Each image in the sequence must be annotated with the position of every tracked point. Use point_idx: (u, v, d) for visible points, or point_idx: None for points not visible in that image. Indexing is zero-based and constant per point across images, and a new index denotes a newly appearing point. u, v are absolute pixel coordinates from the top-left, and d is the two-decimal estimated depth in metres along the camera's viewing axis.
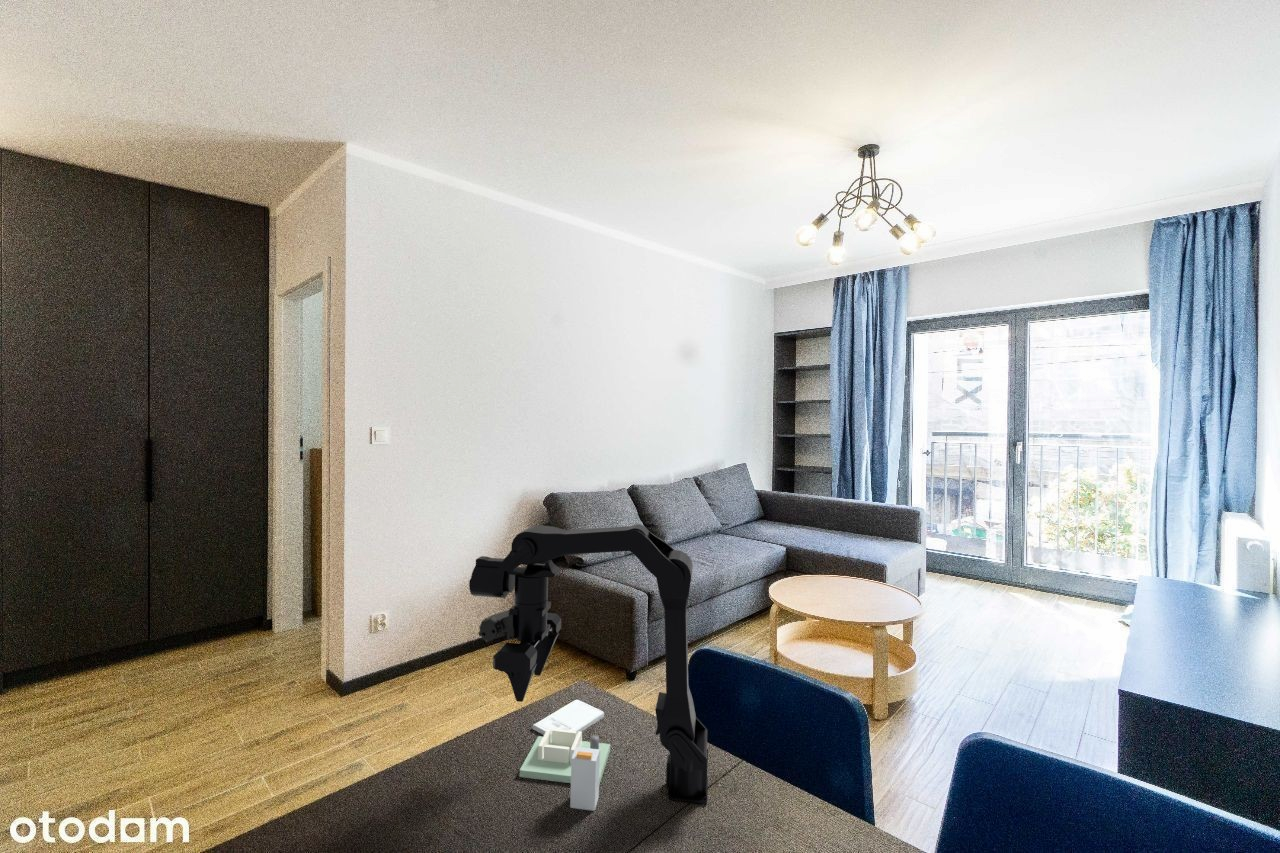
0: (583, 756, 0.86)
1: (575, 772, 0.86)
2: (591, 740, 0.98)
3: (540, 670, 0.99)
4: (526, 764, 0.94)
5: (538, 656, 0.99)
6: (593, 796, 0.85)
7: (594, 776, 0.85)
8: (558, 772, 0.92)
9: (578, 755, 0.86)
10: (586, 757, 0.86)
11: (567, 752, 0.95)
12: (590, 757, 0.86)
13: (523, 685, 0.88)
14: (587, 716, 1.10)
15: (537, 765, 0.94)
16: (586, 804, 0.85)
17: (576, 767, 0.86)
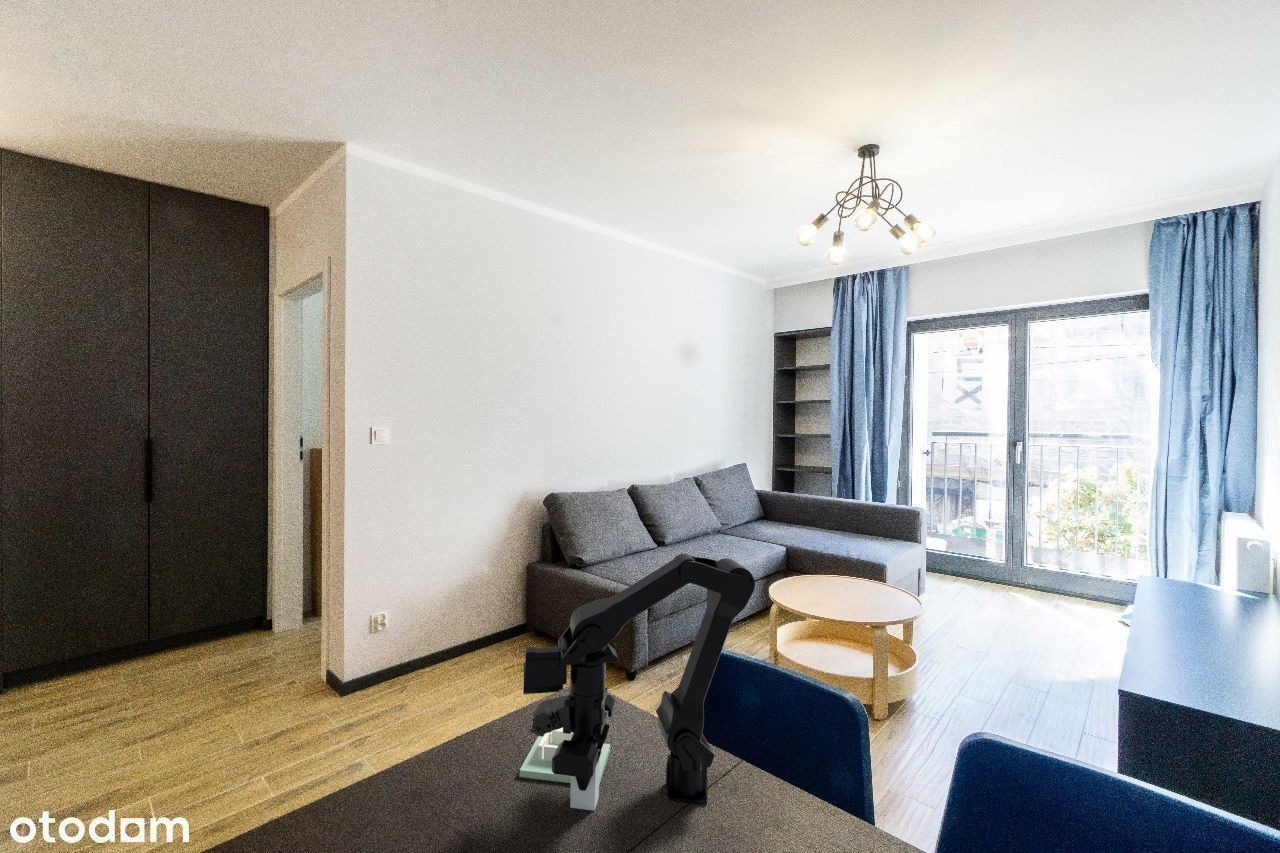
0: None
1: None
2: None
3: None
4: (526, 764, 0.94)
5: None
6: (593, 796, 0.85)
7: (594, 776, 0.85)
8: None
9: None
10: None
11: None
12: None
13: None
14: None
15: (537, 765, 0.94)
16: (586, 804, 0.85)
17: None
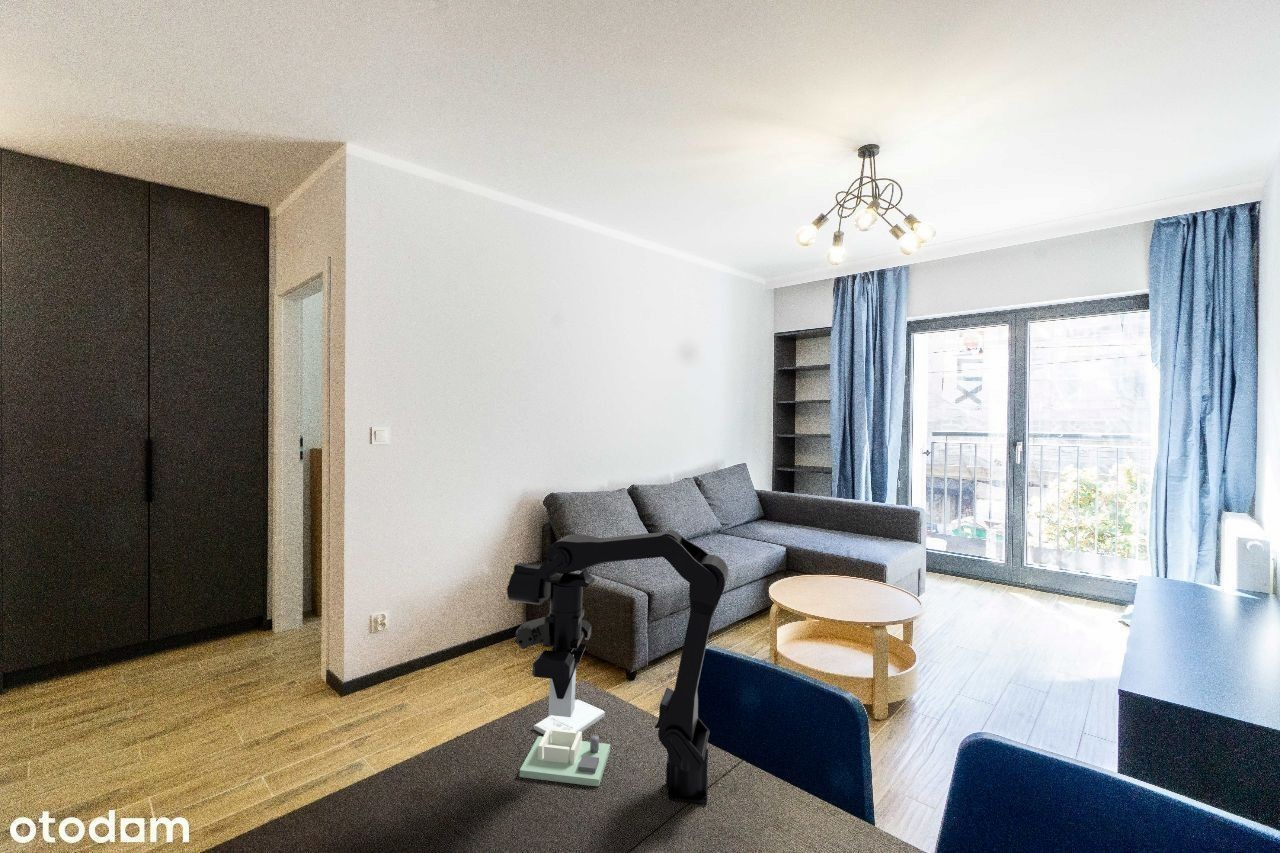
0: None
1: None
2: (591, 740, 0.98)
3: None
4: (526, 764, 0.94)
5: None
6: (569, 704, 0.94)
7: (570, 686, 0.94)
8: (558, 772, 0.92)
9: None
10: None
11: (567, 752, 0.95)
12: None
13: (564, 683, 0.93)
14: (587, 716, 1.10)
15: (537, 765, 0.94)
16: (563, 711, 0.95)
17: None
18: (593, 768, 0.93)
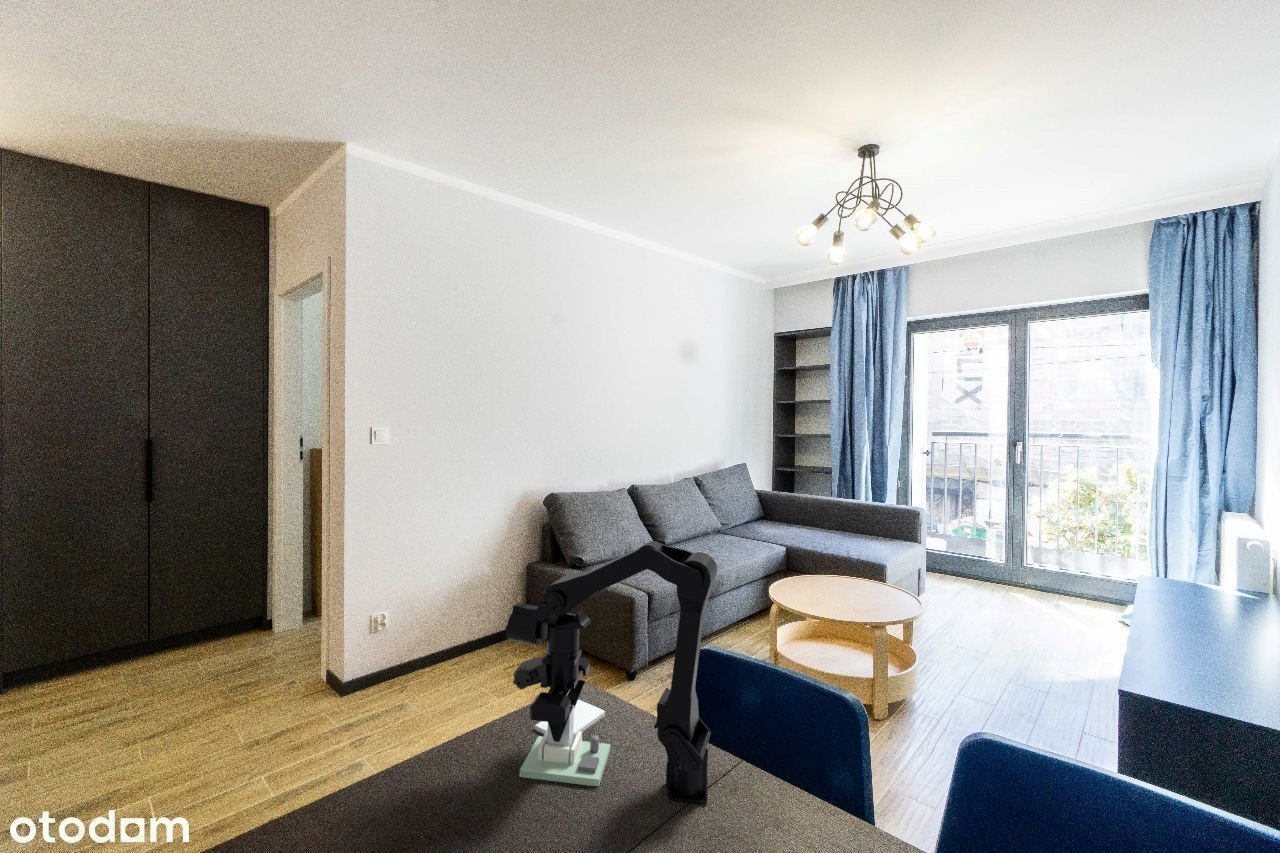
0: None
1: None
2: (591, 740, 0.98)
3: None
4: (526, 764, 0.94)
5: None
6: (567, 745, 0.96)
7: (568, 728, 0.96)
8: (558, 772, 0.92)
9: None
10: None
11: (567, 752, 0.95)
12: None
13: (560, 726, 0.94)
14: (588, 716, 1.10)
15: (537, 765, 0.94)
16: None
17: None
18: (593, 768, 0.93)
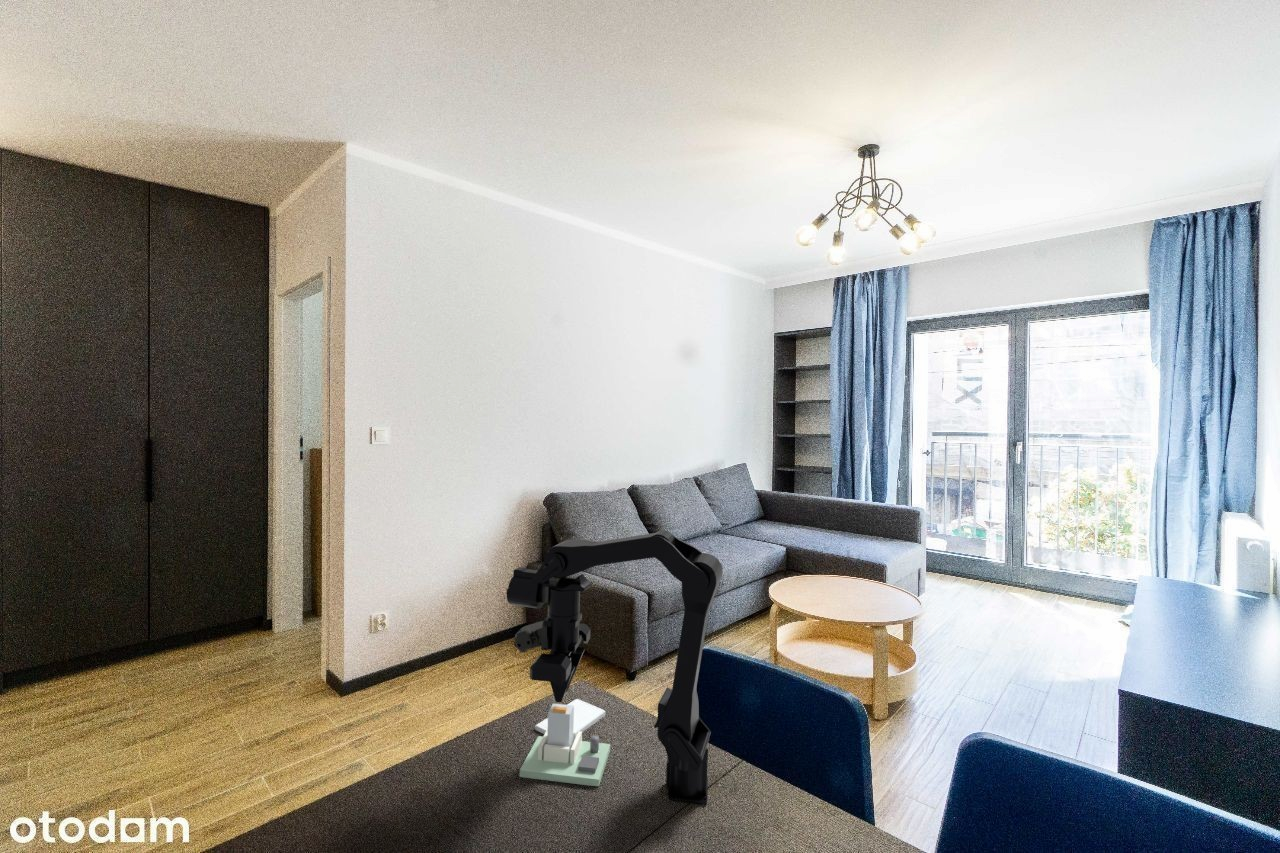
0: (558, 710, 0.97)
1: (551, 724, 0.96)
2: (591, 740, 0.98)
3: (567, 686, 0.99)
4: (526, 764, 0.94)
5: None
6: (567, 745, 0.96)
7: (568, 728, 0.96)
8: (558, 772, 0.92)
9: (554, 709, 0.97)
10: (561, 711, 0.96)
11: (567, 752, 0.95)
12: (564, 711, 0.96)
13: (562, 686, 0.95)
14: (588, 716, 1.10)
15: (537, 765, 0.94)
16: None
17: (552, 720, 0.96)
18: (593, 768, 0.93)
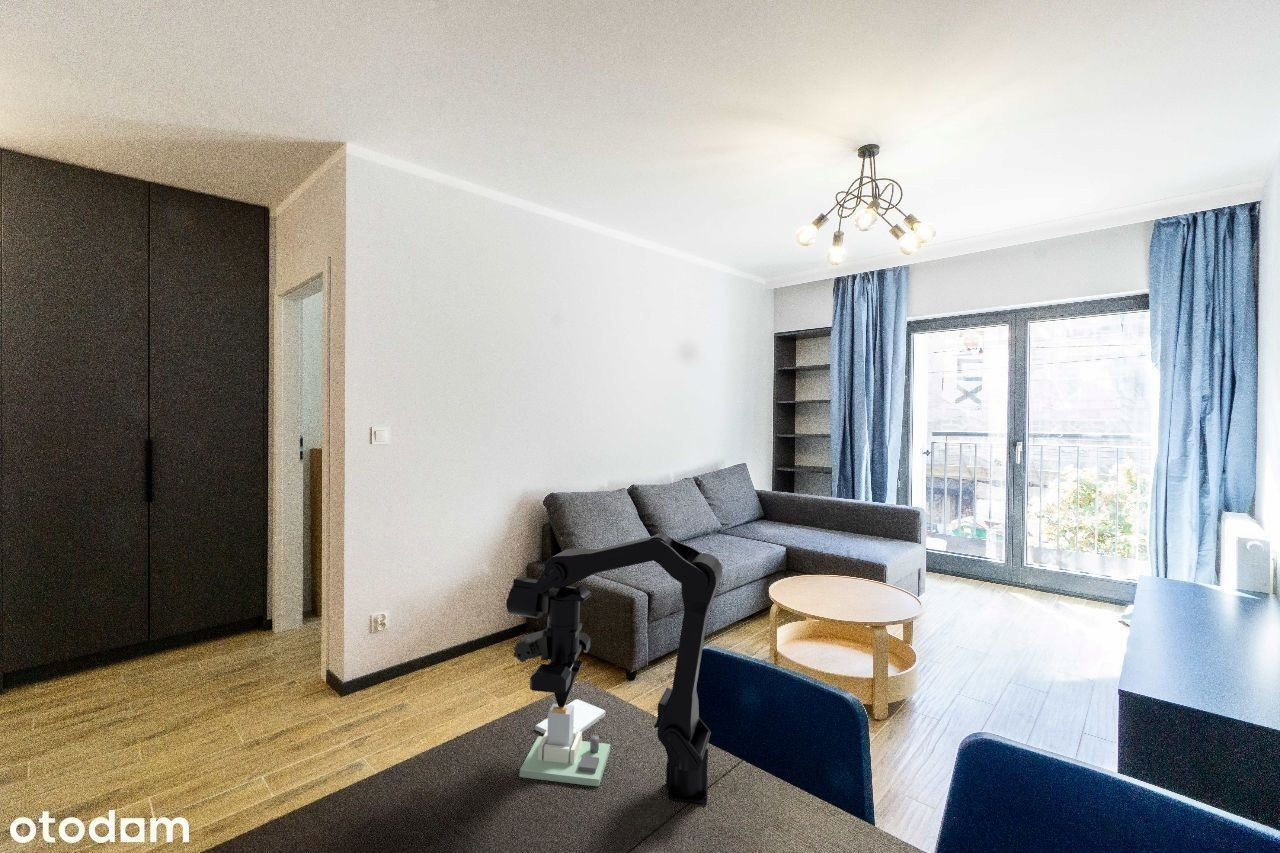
0: (558, 710, 0.97)
1: (551, 724, 0.96)
2: (591, 740, 0.98)
3: None
4: (526, 764, 0.94)
5: None
6: (567, 745, 0.96)
7: (568, 728, 0.96)
8: (558, 772, 0.92)
9: (554, 709, 0.97)
10: (561, 711, 0.96)
11: (567, 752, 0.95)
12: (564, 711, 0.96)
13: (565, 692, 0.96)
14: (589, 715, 1.10)
15: (537, 765, 0.94)
16: None
17: (552, 720, 0.96)
18: (593, 768, 0.93)
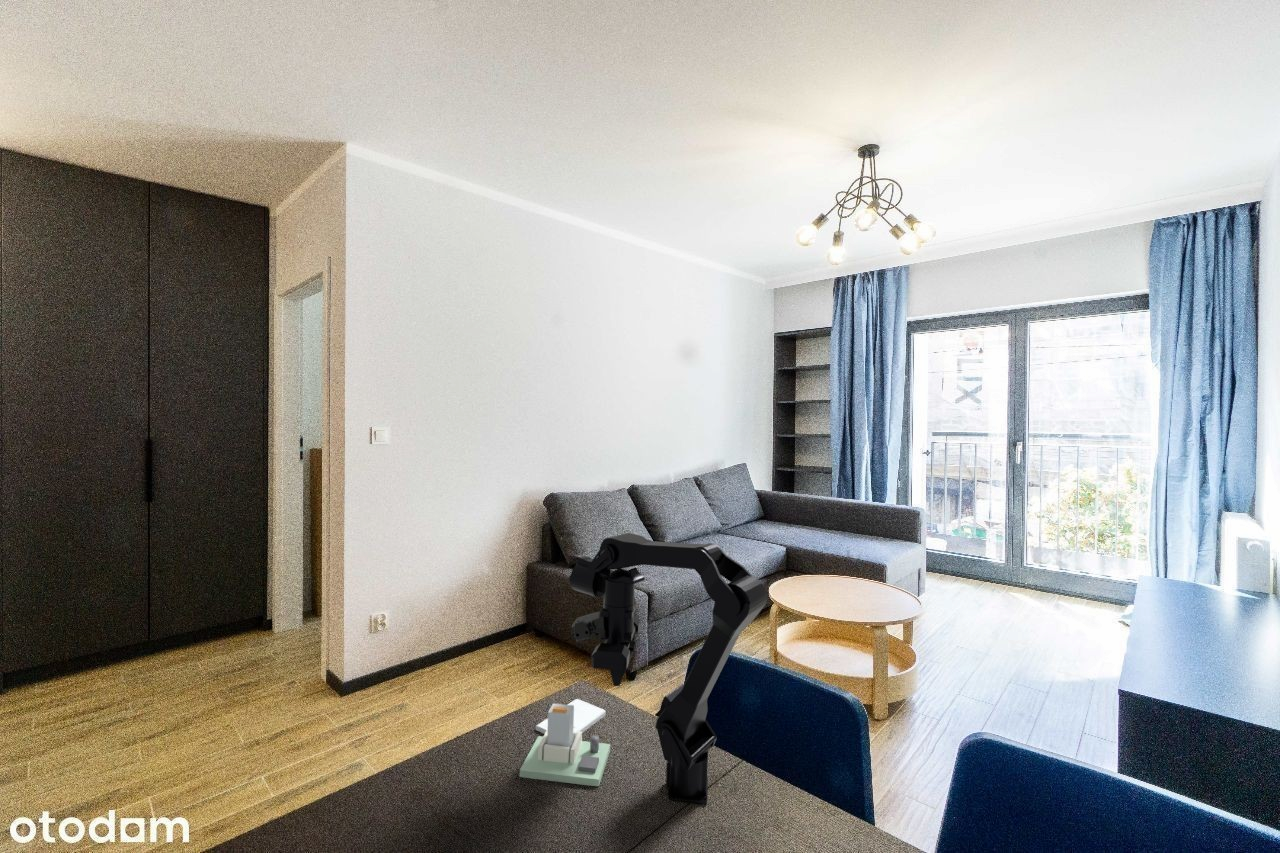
0: (558, 710, 0.97)
1: (551, 724, 0.96)
2: (591, 740, 0.98)
3: None
4: (526, 764, 0.94)
5: None
6: (567, 745, 0.96)
7: (568, 728, 0.96)
8: (558, 772, 0.92)
9: (554, 709, 0.97)
10: (561, 711, 0.96)
11: (567, 752, 0.95)
12: (564, 711, 0.96)
13: (621, 671, 0.99)
14: (589, 715, 1.10)
15: (537, 765, 0.94)
16: None
17: (552, 720, 0.96)
18: (593, 768, 0.93)
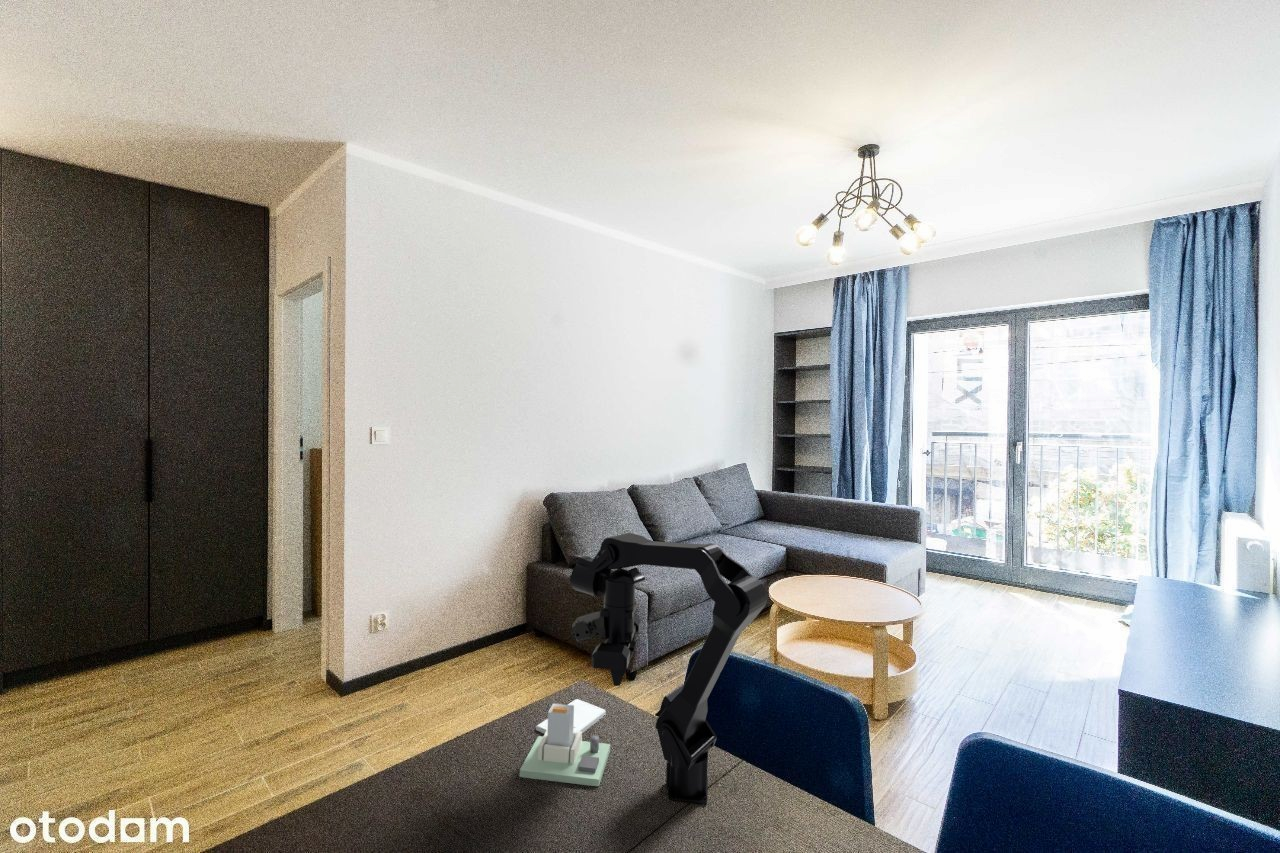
0: (558, 710, 0.97)
1: (551, 724, 0.96)
2: (591, 740, 0.98)
3: None
4: (526, 764, 0.94)
5: None
6: (567, 745, 0.96)
7: (568, 728, 0.96)
8: (558, 772, 0.92)
9: (554, 709, 0.97)
10: (561, 711, 0.96)
11: (567, 752, 0.95)
12: (564, 711, 0.96)
13: (621, 671, 0.99)
14: (589, 715, 1.10)
15: (537, 765, 0.94)
16: None
17: (552, 720, 0.96)
18: (593, 768, 0.93)
